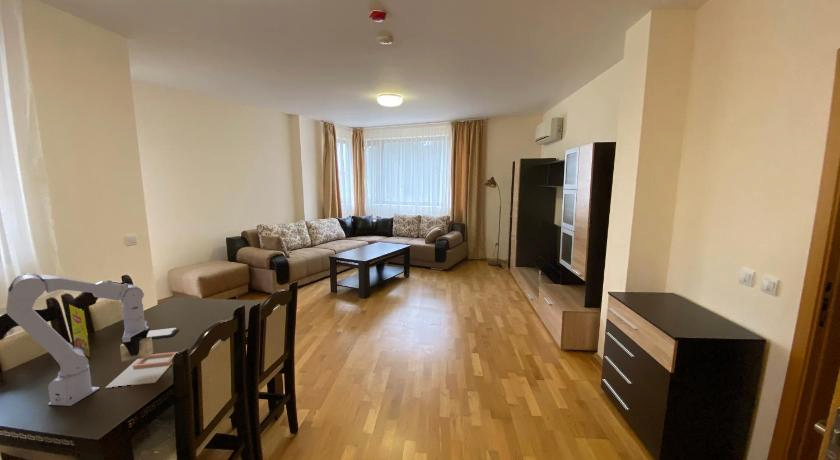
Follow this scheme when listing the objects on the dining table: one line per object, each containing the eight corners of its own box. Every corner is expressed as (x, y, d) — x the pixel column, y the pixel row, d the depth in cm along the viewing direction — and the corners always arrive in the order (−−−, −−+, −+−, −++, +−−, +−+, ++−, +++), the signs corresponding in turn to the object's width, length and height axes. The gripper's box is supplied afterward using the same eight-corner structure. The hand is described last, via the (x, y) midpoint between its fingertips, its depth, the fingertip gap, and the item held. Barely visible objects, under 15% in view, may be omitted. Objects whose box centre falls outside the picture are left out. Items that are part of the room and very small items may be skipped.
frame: (178, 354, 139) (178, 351, 139) (168, 364, 131) (168, 362, 131) (145, 357, 136) (144, 355, 136) (133, 368, 128) (132, 365, 128)
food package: (73, 348, 143) (67, 304, 141) (76, 347, 144) (71, 303, 142) (88, 357, 136) (82, 311, 134) (91, 356, 137) (85, 310, 135)
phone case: (130, 342, 151) (171, 337, 155) (130, 339, 151) (171, 334, 155) (140, 334, 159) (179, 330, 164) (139, 331, 159) (178, 326, 164)
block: (121, 361, 121) (119, 345, 120) (127, 355, 125) (126, 340, 124) (148, 357, 124) (146, 342, 123) (153, 351, 128) (151, 337, 127)
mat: (155, 382, 120) (155, 381, 120) (105, 388, 116) (105, 387, 116) (180, 354, 140) (180, 353, 140) (139, 358, 136) (138, 357, 136)
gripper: (138, 323, 117) (141, 359, 119) (155, 309, 130) (158, 341, 132) (113, 326, 114) (117, 362, 116) (133, 311, 128) (136, 344, 130)
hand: (137, 351), depth 124 cm, fingers closed on block, 4 cm apart
